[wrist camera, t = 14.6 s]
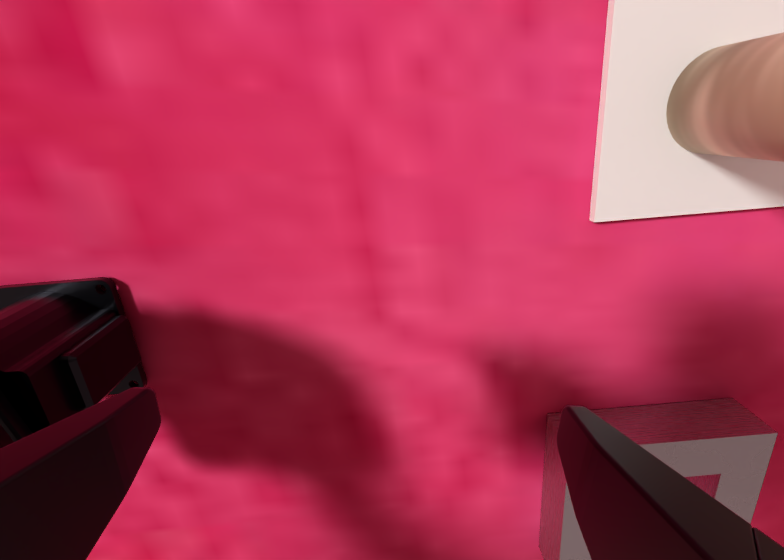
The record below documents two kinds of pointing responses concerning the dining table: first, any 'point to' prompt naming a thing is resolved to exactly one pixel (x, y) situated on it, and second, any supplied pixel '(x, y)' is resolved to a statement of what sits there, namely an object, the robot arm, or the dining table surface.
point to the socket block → (667, 460)
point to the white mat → (649, 106)
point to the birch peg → (732, 101)
